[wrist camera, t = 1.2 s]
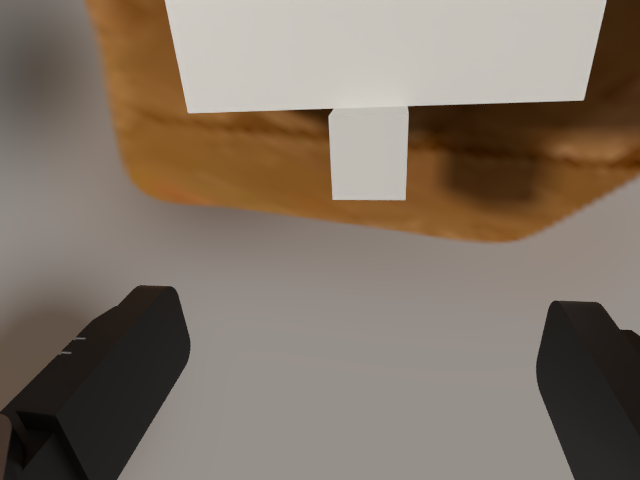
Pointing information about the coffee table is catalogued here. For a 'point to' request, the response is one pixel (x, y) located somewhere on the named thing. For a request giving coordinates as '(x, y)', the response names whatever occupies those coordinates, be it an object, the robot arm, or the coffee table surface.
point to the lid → (379, 66)
